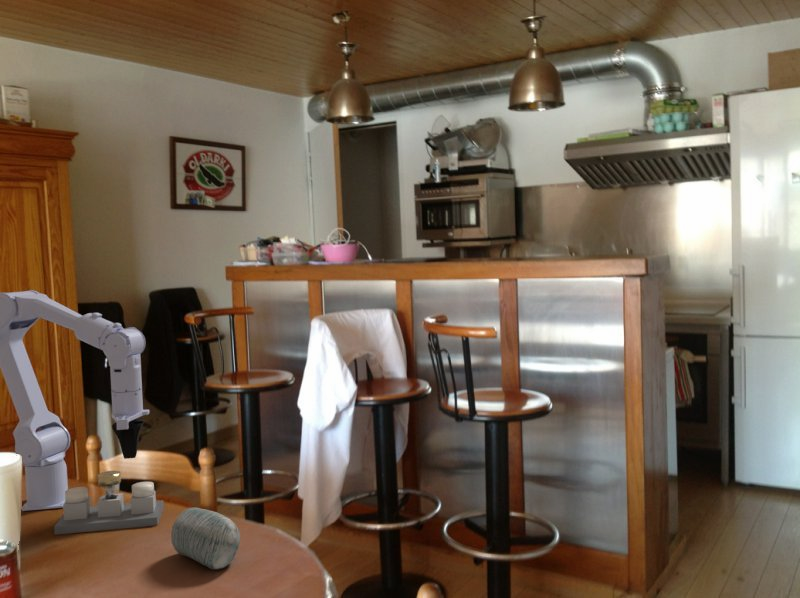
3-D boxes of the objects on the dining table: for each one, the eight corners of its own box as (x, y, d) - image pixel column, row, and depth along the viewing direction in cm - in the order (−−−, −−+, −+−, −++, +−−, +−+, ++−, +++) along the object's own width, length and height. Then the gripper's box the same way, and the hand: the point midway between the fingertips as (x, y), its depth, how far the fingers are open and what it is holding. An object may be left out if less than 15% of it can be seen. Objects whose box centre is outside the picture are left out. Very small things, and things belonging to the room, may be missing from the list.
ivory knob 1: (68, 512, 145) (67, 488, 145) (91, 510, 146) (89, 486, 145) (63, 519, 141) (62, 494, 141) (86, 517, 142) (85, 492, 141)
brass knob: (101, 496, 146) (100, 471, 146) (123, 494, 147) (121, 470, 146) (97, 502, 142) (95, 477, 142) (119, 500, 143) (118, 475, 142)
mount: (67, 516, 148) (66, 493, 147) (163, 507, 151) (162, 485, 151) (54, 534, 138) (53, 510, 138) (157, 525, 141) (156, 501, 141)
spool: (150, 538, 126) (179, 485, 127) (196, 548, 132) (224, 497, 133) (182, 584, 116) (215, 525, 117) (231, 592, 122) (261, 537, 123)
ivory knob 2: (134, 506, 147) (133, 482, 147) (156, 505, 148) (154, 480, 148) (131, 513, 143) (130, 488, 143) (153, 511, 144) (152, 487, 144)
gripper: (142, 395, 143) (146, 465, 144) (152, 382, 157) (155, 446, 158) (103, 397, 142) (107, 468, 143) (116, 384, 156) (120, 449, 157)
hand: (130, 457), depth 150 cm, fingers closed
